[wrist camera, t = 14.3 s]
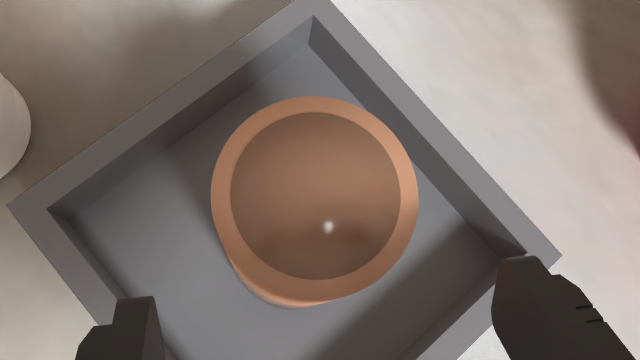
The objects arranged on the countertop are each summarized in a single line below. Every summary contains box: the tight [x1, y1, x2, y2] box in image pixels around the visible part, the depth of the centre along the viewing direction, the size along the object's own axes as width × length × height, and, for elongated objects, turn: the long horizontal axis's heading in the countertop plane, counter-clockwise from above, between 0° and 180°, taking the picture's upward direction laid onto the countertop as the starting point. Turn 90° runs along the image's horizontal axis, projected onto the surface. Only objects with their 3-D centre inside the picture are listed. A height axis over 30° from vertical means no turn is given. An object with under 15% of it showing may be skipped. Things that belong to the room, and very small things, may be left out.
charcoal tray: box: [6, 0, 562, 360], centre depth 24 cm, size 15×15×4 cm
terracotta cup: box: [211, 96, 418, 310], centre depth 20 cm, size 5×5×10 cm
